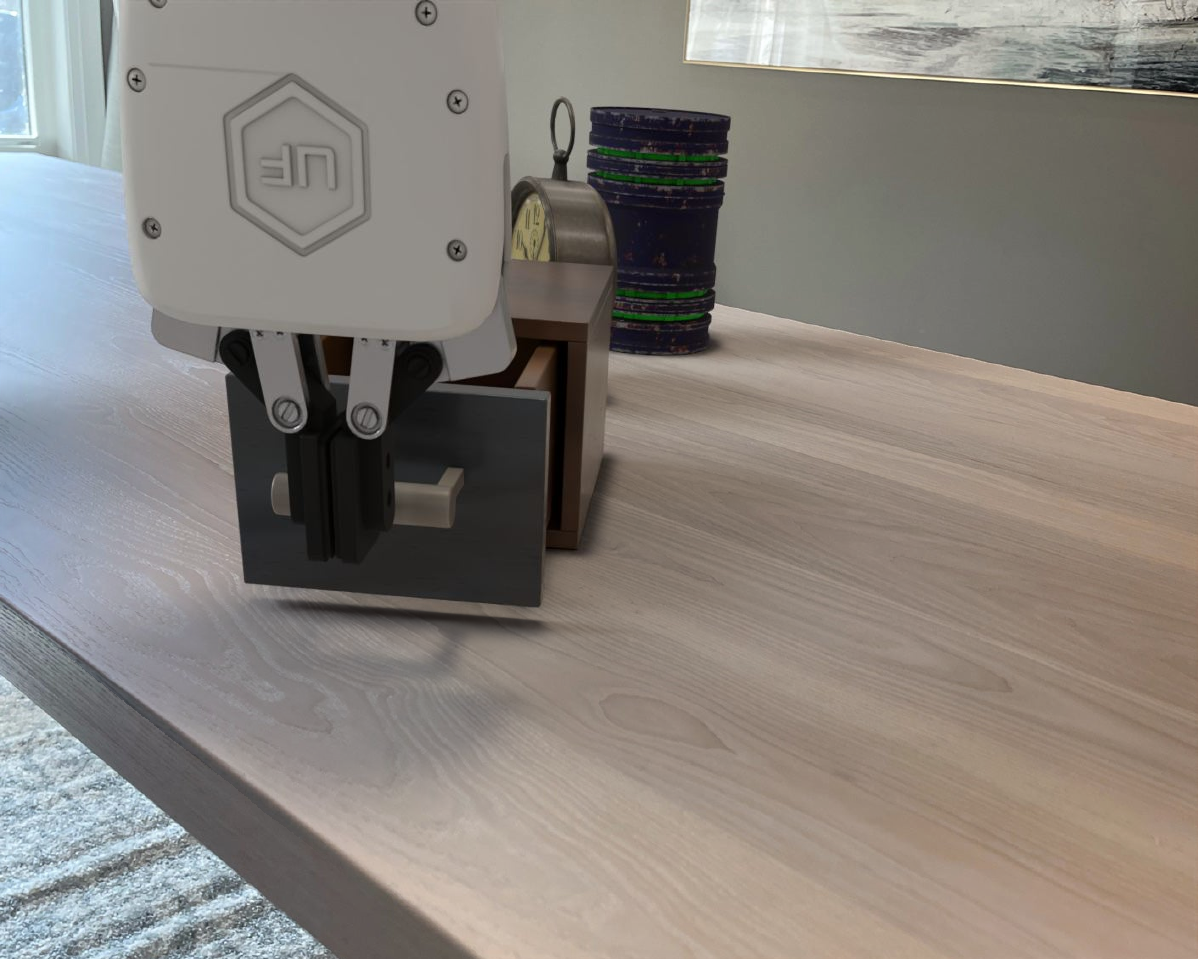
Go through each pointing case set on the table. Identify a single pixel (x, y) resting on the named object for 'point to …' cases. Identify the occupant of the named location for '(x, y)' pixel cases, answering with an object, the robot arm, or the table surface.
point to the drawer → (424, 486)
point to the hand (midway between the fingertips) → (345, 547)
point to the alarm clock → (562, 215)
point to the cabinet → (570, 371)
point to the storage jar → (661, 221)
